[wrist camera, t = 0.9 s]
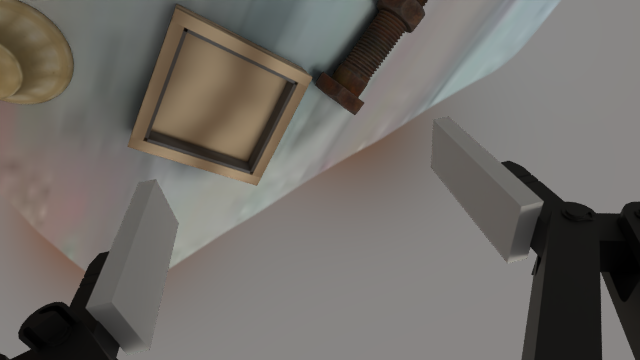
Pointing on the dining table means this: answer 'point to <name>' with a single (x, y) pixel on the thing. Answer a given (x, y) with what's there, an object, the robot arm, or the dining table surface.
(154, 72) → the square tray
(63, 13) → the dining table surface
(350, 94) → the bolt
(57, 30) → the hand bell
